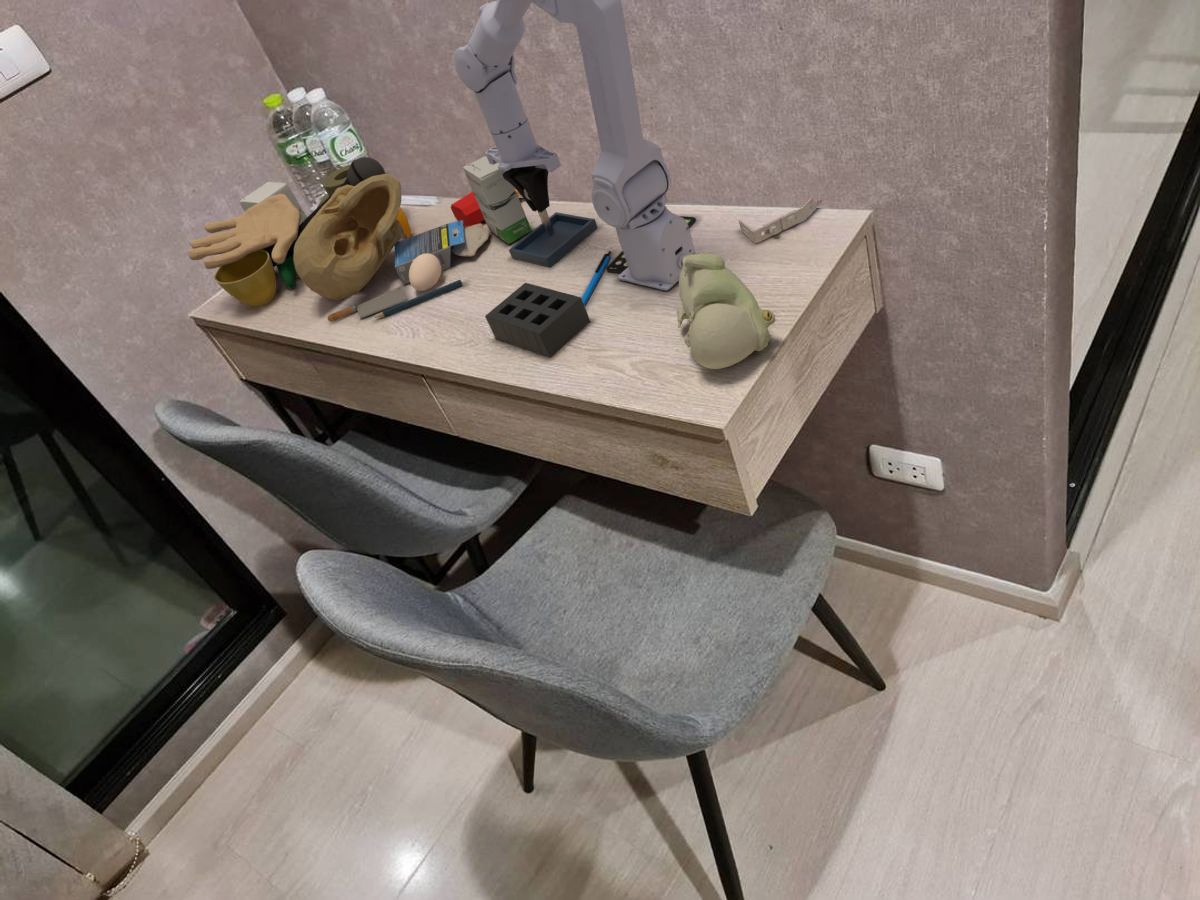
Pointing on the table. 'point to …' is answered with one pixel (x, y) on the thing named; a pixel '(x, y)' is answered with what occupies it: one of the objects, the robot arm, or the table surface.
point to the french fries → (468, 210)
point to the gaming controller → (288, 272)
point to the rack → (538, 319)
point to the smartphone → (620, 261)
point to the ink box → (497, 200)
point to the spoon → (544, 219)
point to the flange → (335, 181)
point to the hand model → (250, 233)
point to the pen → (596, 277)
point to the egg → (424, 272)
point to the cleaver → (373, 305)
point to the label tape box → (427, 247)
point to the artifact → (471, 240)
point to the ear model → (349, 237)
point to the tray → (553, 239)
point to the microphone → (351, 180)
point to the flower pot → (249, 279)
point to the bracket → (780, 222)
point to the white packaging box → (271, 190)
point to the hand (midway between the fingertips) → (541, 208)
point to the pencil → (420, 298)
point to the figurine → (720, 313)
